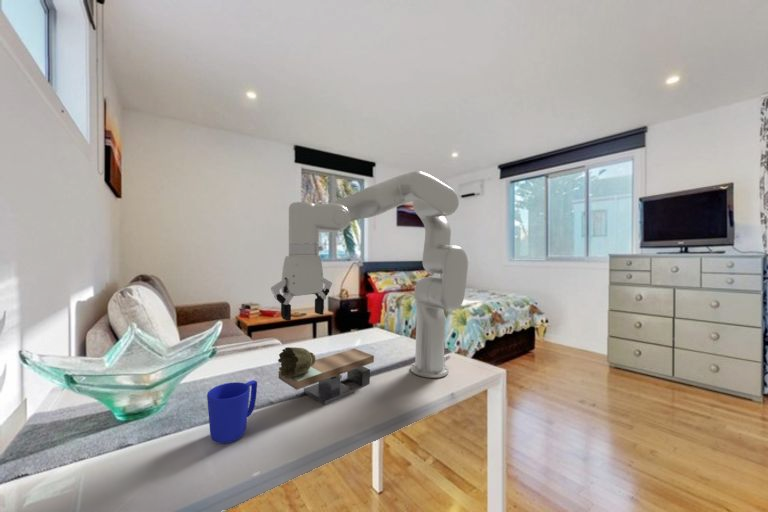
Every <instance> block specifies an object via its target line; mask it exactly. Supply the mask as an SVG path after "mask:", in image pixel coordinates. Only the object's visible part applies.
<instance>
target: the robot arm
mask: <svg viewBox="0 0 768 512" xmlns="http://www.w3.org/2000/svg"><path fill="white" fill-rule="evenodd" d="M410 202H412V208H413V210H414V212H415V214H416V215H417V216H418V217H419V219H420V220H421V222H422V224H423V226H424V232H425V233H424V244H423V252H422V266H423V269H424V270H425V271H426V272H428V273H431V274H437V275H441V276H442V277H433V276H426V277H422V278H420V279H419V280H418V281H417V283H415V286H414V301H415V307H416V326H415V327H416V328H415V357H414V358H415V361H414V362H413V363H412V364H410V371H411V372H412V373H413V374H414V375H417V376H419V377H423V378H428V379H429V378H430V379H437V378H442V377H445V376H447V375H448V374H449V367H448V366H447V365H445V362H447V361H449V360H450V359H451V356H450V354H448V353H447V354H445V339H446V338H445V336H446V335H445V334H446V318H445V317H446V316H445V311H448V312H449V311H451V312H453V311H456V310H458V309H459V308H460V307H461V306H462V304H463V302H464V298H465V295H466V294H465V293H466V288H467V285H466V284H467V278H468V267H469V260H468V256H467V253H466V251H465V250H464V248H462V247H461V246H458V245H453V244H452V245H451V236H452V234H451V233H452V230H451V226H450V223H449V221H448V219H447V218H446V217H447V216H451V215H453V214H454V213H456V211H457V209H458V208H459V203H460V201H459V197H458V193H456V191H455V190H454V189H453V188H452V187H451V186H449V185H447V184H445V183H444V182H442V181H441V180H439V179H438V178H436V177H434V176H432V175H431V174H428V173H426V172H424V171H420V170H415V171H411V172H408V173H404V174H401V175H398V176H395V177H391V178H389V179H387V180H385V181H382V182H379V183H376V184H374V185H371V186H368V187H365V188H363V189H360V190H358V191H356V192H353V193H351V194H349V195H347V196H344V197H341V198H339V199H336V200H334V201H331V202H328V203H313V202H309V201H295V202H292V203H290V204H289V206H288V255H285V257H284V260H283V266H282V273H281V275H282V276H281V281H279V282H277V283H276V284H274V285H273V286H271V287H270V290H271V292H272V294H273V296H274V298H275V300H277V302H278V303H279V304H280V315H281V319H283V320H284V321H286V322H287V321H291V319H292V305H291V304H290V303H291V300H292V299H293V298H294V297H301V296H308V295H314V296H315V297H316V298H314V313H315V314H317V315H320V316H321V315H324V310H325V300H326V299H327V296H328V294H330V289H331V287H332V285H333V283H332V281H331V280H328V279H326V278H325V277H324V269H323V263H322V259H321V256H320V252H322V251H323V248H322V247H323V246H320V240H319V239H320V238H319V237H320V234H319V233H325V234H326V233H339V232H342V231H344V230H345V229H347V228H348V227H349V225H350V223H351V222H354V221H357V220H362V219H369V218H372V217H376V216H379V215H382V214H384V213H387V212H388V211H390V210H393V209H395V208H398V207H400V206H402V205H405V204H407V203H410ZM280 290H281V292H280ZM281 293H282V294H281ZM444 310H445V311H444Z"/></svg>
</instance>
